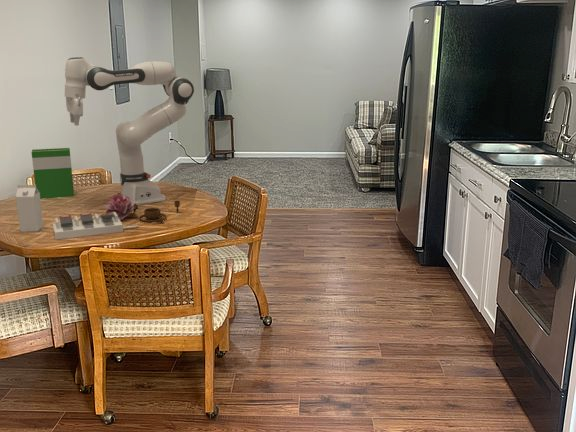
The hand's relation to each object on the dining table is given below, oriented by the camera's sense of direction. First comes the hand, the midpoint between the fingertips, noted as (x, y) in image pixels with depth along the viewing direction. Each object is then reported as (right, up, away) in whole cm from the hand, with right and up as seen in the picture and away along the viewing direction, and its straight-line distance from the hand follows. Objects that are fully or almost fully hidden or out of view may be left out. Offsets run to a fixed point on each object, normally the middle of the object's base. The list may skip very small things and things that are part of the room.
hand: (74, 123), depth 262 cm
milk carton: (-8, -48, -26) cm, 55 cm away
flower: (+24, -43, -7) cm, 50 cm away
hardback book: (-21, -33, +30) cm, 49 cm away
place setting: (+42, -44, -8) cm, 62 cm away
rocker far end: (+8, -45, -30) cm, 55 cm away
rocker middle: (+15, -45, -27) cm, 54 cm away
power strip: (+19, -48, -26) cm, 58 cm away
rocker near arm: (+23, -44, -24) cm, 55 cm away
